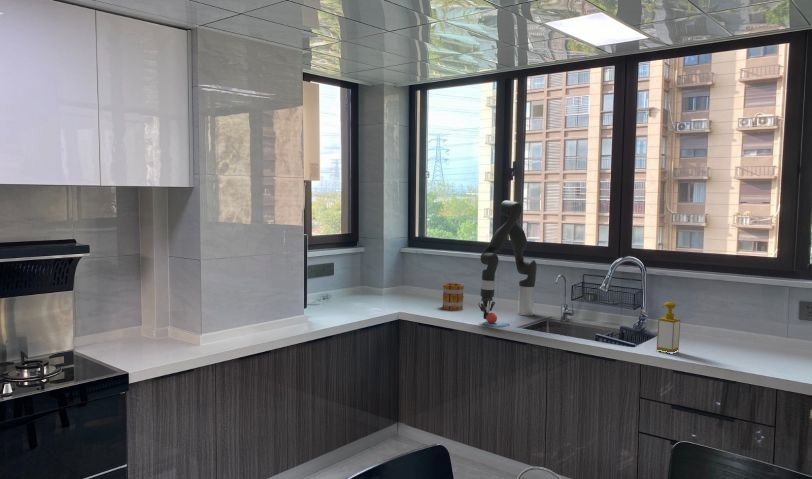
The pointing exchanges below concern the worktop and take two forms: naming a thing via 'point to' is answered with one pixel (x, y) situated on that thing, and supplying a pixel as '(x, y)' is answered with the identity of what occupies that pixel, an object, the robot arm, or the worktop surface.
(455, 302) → the brown wooden cylinder
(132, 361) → the worktop surface
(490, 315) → the ball
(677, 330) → the soap bottle
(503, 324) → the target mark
